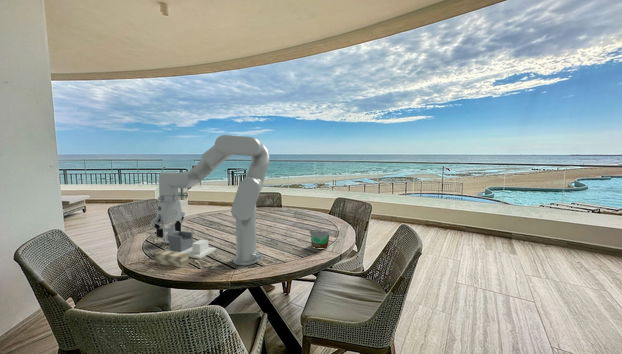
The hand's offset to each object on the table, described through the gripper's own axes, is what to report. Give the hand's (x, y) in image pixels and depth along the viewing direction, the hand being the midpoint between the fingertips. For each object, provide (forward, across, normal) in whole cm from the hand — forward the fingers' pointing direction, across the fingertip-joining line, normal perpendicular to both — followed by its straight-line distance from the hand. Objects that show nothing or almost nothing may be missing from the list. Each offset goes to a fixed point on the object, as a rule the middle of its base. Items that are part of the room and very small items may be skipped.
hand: (169, 233), depth 110 cm
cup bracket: (+14, +14, +1) cm, 20 cm away
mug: (+15, +20, +22) cm, 34 cm away
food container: (+13, +40, -63) cm, 76 cm away
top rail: (+15, 0, -1) cm, 15 cm away
